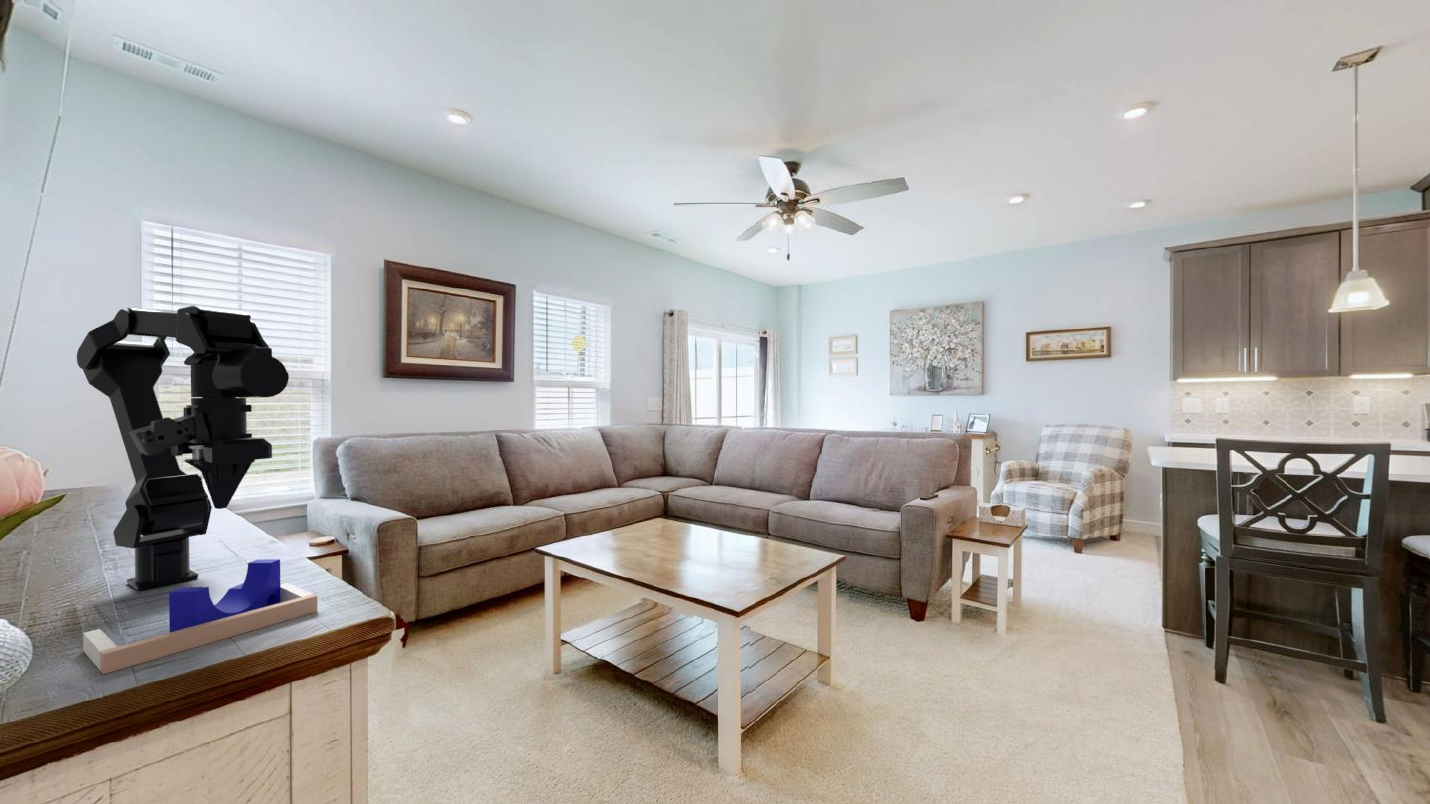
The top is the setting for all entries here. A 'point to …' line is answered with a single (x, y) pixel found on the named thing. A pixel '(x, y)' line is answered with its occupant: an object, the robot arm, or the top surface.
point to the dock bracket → (196, 632)
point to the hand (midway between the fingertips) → (220, 508)
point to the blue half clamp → (226, 597)
